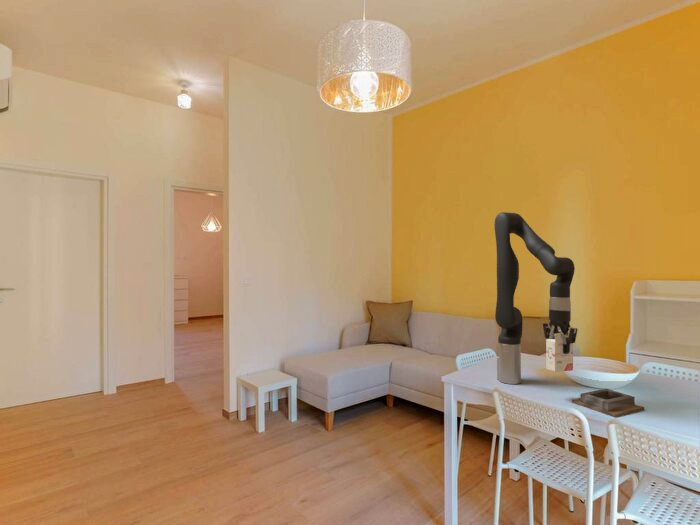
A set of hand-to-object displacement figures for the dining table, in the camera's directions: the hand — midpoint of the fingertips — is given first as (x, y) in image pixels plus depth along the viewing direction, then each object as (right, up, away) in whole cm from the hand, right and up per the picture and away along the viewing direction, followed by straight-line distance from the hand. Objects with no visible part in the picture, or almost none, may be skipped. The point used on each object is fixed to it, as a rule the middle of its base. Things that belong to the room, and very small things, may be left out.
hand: (559, 351), depth 155 cm
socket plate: (+13, -18, -9) cm, 24 cm away
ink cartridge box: (0, -7, 0) cm, 7 cm away
